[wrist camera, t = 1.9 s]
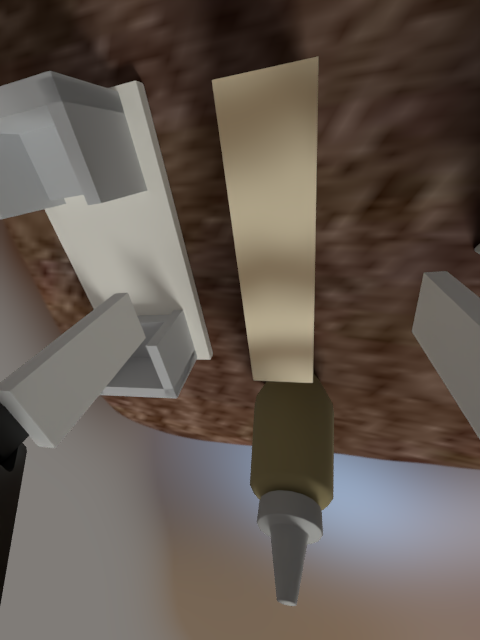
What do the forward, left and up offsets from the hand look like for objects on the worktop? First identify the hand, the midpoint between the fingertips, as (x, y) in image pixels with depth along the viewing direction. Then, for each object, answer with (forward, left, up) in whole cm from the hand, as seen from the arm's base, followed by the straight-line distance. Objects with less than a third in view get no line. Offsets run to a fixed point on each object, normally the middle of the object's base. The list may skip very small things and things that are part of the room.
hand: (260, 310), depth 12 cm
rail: (0, 0, -12) cm, 12 cm away
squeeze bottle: (+13, +11, -12) cm, 21 cm away
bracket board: (+10, -11, -12) cm, 19 cm away
